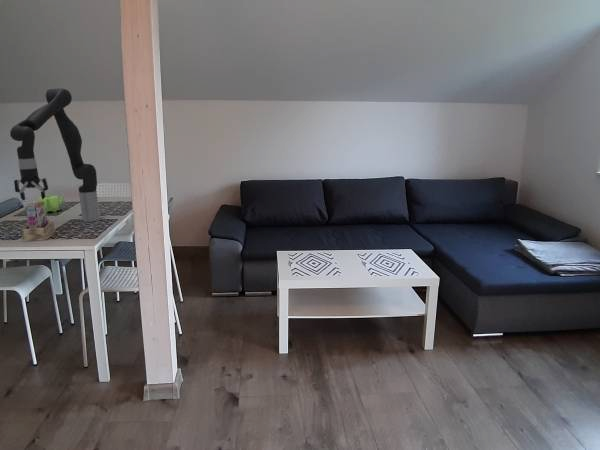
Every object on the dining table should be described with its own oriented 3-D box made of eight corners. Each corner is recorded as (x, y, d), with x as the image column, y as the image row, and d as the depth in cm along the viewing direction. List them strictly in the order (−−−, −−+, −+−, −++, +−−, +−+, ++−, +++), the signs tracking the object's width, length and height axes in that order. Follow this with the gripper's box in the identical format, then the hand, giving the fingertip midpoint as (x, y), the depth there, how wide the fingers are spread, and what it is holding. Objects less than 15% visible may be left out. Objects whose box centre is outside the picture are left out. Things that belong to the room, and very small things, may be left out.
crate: (54, 231, 238) (53, 220, 237) (47, 239, 223) (45, 228, 221) (31, 232, 235) (30, 222, 234) (22, 241, 220) (20, 230, 218)
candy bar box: (40, 237, 224) (35, 205, 220) (29, 237, 223) (24, 206, 219) (49, 231, 235) (44, 201, 231) (39, 232, 234) (34, 201, 230)
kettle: (68, 210, 289) (66, 193, 286) (51, 215, 276) (48, 197, 273) (50, 208, 294) (48, 192, 291) (32, 213, 281) (29, 196, 278)
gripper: (45, 165, 225) (50, 197, 230) (14, 167, 221) (19, 199, 226) (42, 167, 219) (47, 199, 223) (9, 169, 214) (15, 202, 219)
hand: (33, 199), depth 224 cm, fingers open, 8 cm apart
